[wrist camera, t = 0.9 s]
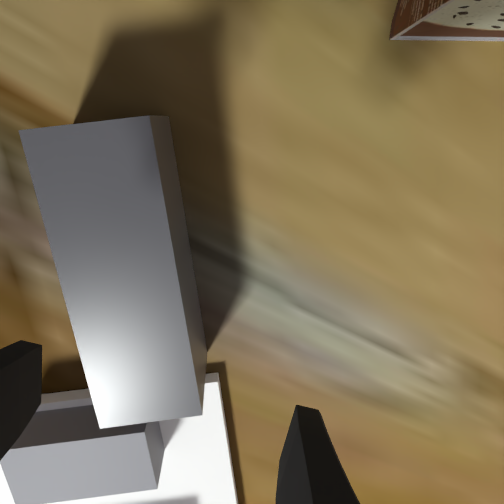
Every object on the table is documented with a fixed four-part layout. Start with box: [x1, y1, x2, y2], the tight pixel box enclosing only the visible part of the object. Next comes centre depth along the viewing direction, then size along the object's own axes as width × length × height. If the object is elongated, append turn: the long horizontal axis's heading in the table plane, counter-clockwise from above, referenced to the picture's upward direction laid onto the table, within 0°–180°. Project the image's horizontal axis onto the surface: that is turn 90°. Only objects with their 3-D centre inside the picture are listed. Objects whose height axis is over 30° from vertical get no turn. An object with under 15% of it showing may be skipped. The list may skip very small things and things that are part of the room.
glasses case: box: [19, 115, 207, 429], centre depth 21 cm, size 5×14×6 cm, turn 6°
